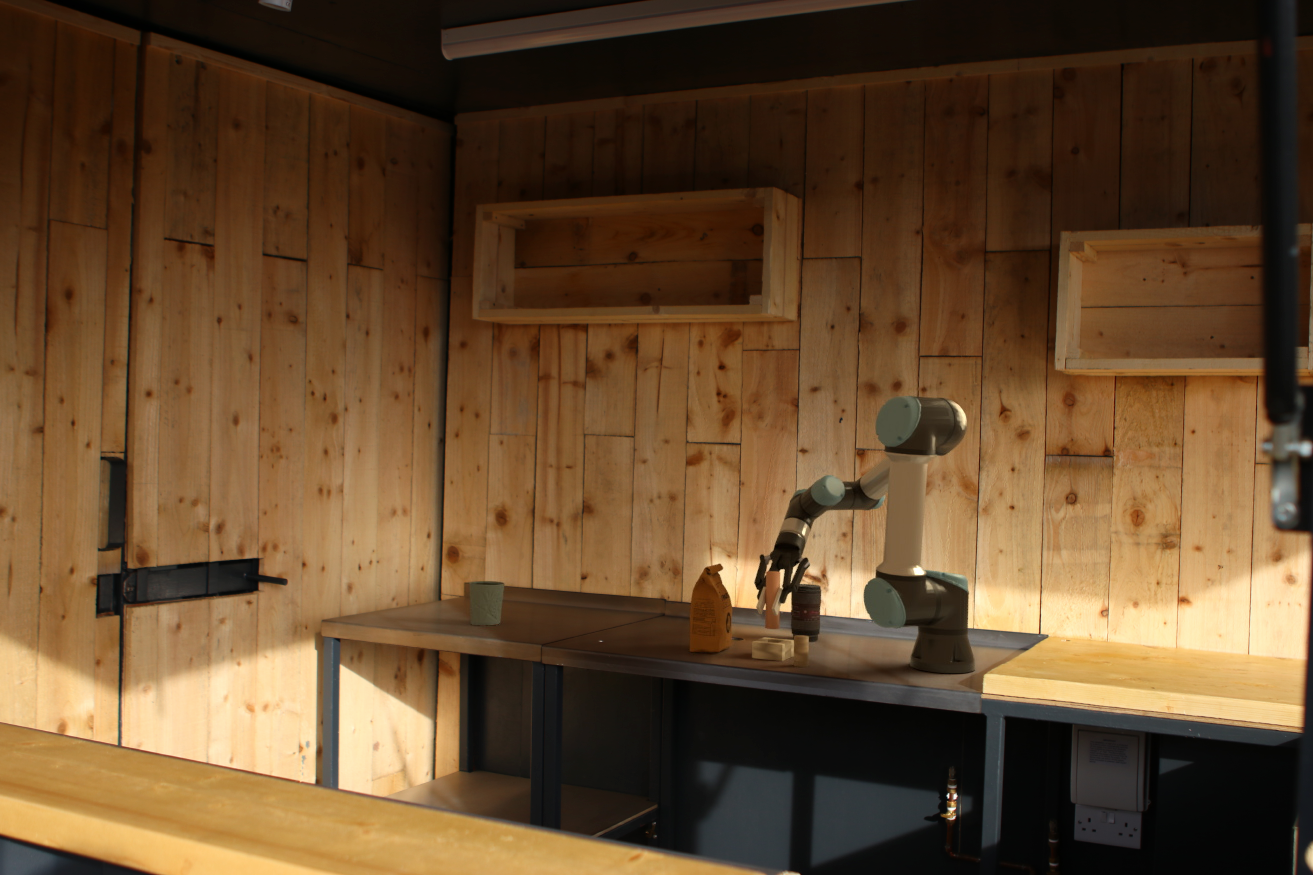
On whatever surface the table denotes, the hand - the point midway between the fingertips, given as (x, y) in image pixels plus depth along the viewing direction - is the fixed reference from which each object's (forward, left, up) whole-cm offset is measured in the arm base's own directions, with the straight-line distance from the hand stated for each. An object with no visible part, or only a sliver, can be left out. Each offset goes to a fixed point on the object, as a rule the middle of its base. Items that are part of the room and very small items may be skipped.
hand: (766, 611), depth 276 cm
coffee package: (+17, -4, -12) cm, 21 cm away
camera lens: (+2, -33, -12) cm, 35 cm away
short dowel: (-10, +3, -12) cm, 16 cm away
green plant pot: (+91, -8, -12) cm, 92 cm away
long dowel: (0, -4, -5) cm, 6 cm away
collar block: (0, -4, -12) cm, 12 cm away
